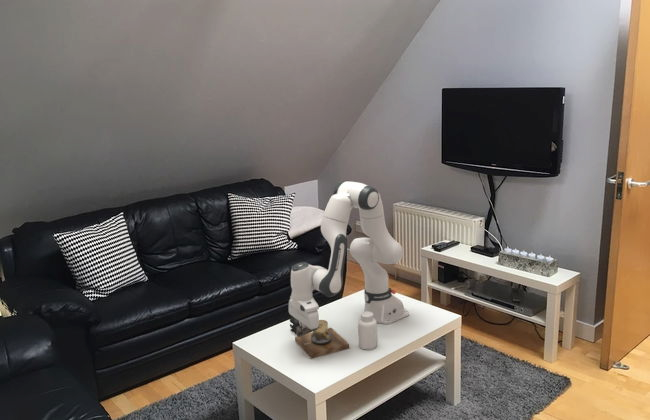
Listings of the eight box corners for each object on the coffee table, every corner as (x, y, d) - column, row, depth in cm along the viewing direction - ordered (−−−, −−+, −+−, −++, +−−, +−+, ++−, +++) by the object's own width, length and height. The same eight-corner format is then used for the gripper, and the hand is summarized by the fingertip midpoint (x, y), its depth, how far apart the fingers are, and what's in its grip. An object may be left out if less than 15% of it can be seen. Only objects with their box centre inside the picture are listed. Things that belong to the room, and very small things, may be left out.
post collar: (326, 333, 252) (326, 329, 252) (335, 342, 244) (335, 337, 244) (308, 338, 249) (307, 334, 248) (316, 347, 241) (316, 342, 240)
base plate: (331, 331, 259) (331, 327, 258) (349, 348, 243) (349, 343, 242) (295, 340, 251) (294, 336, 251) (311, 358, 235) (310, 353, 235)
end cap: (297, 336, 256) (296, 322, 254) (289, 330, 262) (288, 317, 260) (315, 330, 261) (315, 316, 259) (307, 324, 267) (307, 311, 265)
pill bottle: (358, 350, 241) (357, 317, 237) (359, 341, 248) (358, 309, 245) (376, 350, 240) (375, 318, 236) (377, 341, 247) (376, 310, 244)
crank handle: (319, 329, 251) (318, 313, 249) (333, 336, 244) (332, 319, 242) (291, 341, 242) (290, 324, 240) (305, 349, 235) (303, 331, 233)
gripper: (284, 294, 245) (285, 324, 248) (307, 310, 228) (309, 341, 231) (296, 291, 248) (298, 320, 252) (321, 307, 231) (322, 337, 235)
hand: (303, 330), depth 241 cm, fingers closed
